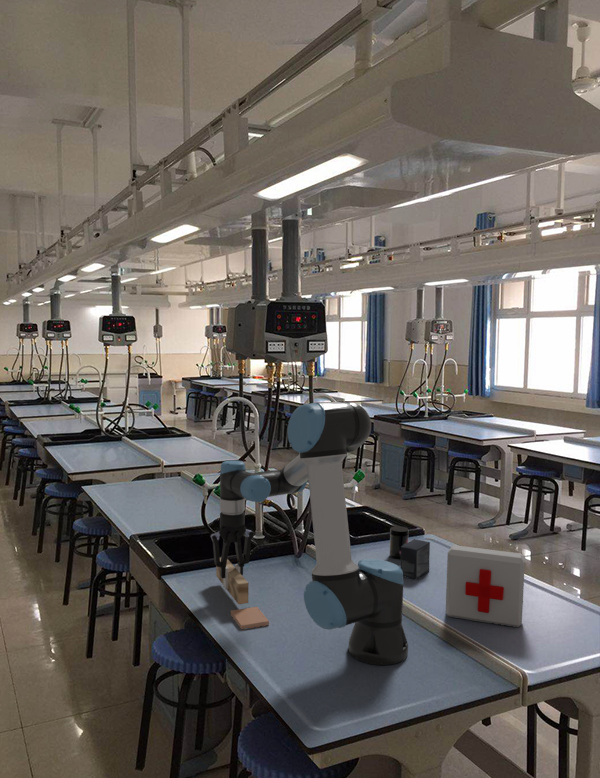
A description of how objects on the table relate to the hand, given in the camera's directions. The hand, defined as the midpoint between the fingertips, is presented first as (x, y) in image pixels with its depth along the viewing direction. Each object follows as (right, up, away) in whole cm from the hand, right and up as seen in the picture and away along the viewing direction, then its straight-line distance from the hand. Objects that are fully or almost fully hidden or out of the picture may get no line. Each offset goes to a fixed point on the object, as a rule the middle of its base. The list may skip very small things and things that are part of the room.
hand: (231, 586), depth 202 cm
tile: (+7, -4, -16) cm, 18 cm away
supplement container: (+57, -1, +41) cm, 71 cm away
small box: (+60, -3, +24) cm, 65 cm away
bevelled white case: (+74, -6, -12) cm, 75 cm away
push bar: (0, -1, 0) cm, 1 cm away
